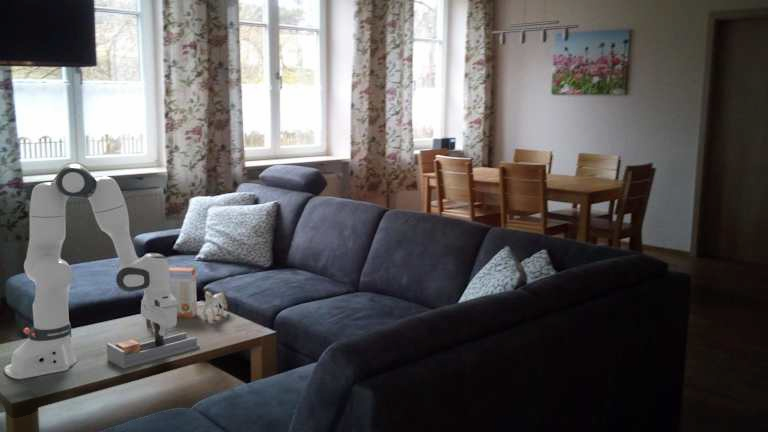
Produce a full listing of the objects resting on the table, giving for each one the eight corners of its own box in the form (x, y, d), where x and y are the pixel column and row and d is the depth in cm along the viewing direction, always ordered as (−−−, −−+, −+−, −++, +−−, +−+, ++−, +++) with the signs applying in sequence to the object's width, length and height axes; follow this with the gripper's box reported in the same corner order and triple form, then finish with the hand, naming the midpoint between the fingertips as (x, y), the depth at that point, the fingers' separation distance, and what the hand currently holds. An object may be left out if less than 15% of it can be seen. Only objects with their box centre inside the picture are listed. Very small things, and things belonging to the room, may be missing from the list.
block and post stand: (124, 361, 246) (122, 334, 244) (116, 356, 250) (115, 330, 248) (167, 349, 258) (166, 324, 256) (159, 345, 261) (158, 320, 260)
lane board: (122, 368, 242) (122, 352, 242) (107, 359, 251) (106, 343, 250) (199, 347, 264) (199, 332, 263) (183, 339, 272) (182, 325, 271)
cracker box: (197, 314, 305) (196, 267, 301) (192, 318, 299) (190, 270, 295) (166, 312, 306) (164, 266, 303) (160, 317, 300) (158, 269, 297)
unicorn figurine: (198, 325, 289) (197, 294, 287) (212, 311, 308) (211, 282, 306) (215, 326, 289) (214, 294, 287) (228, 312, 308) (227, 282, 306)
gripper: (135, 293, 260) (137, 329, 262) (163, 304, 246) (164, 342, 248) (151, 290, 265) (153, 325, 267) (179, 301, 251) (180, 338, 253)
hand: (158, 333), depth 257 cm, fingers closed on block and post stand, 3 cm apart
